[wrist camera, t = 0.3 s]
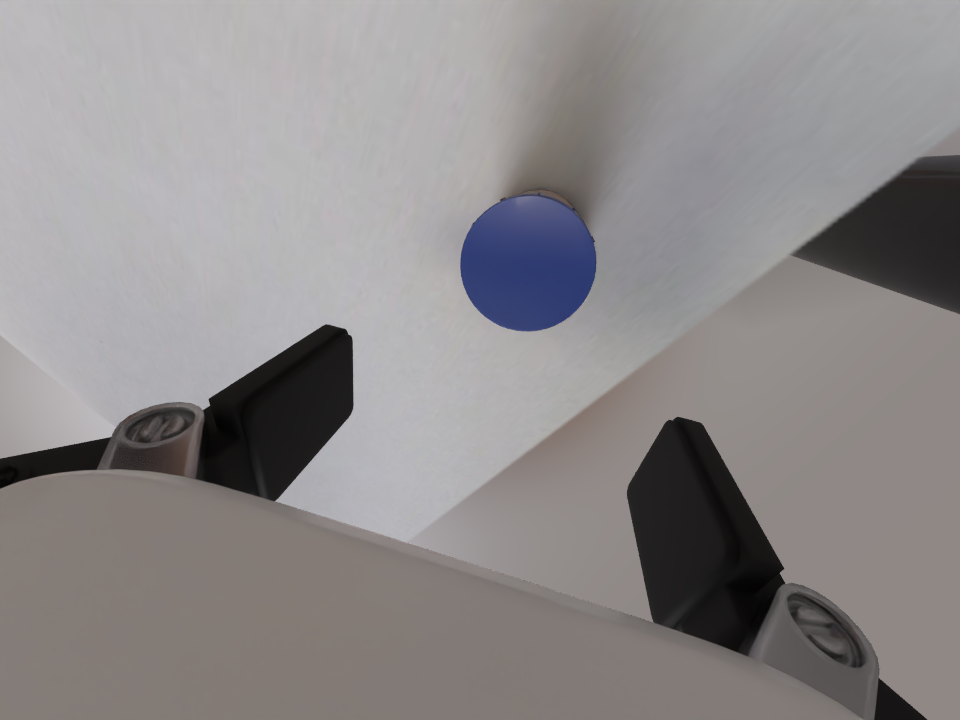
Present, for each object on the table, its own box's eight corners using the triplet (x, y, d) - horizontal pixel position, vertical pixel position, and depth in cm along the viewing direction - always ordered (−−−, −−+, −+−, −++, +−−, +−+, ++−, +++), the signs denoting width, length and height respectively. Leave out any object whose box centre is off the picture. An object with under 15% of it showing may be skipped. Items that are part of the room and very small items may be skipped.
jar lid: (592, 182, 17) (596, 183, 15) (593, 315, 20) (596, 327, 18) (458, 204, 18) (448, 207, 17) (477, 323, 21) (471, 335, 20)
